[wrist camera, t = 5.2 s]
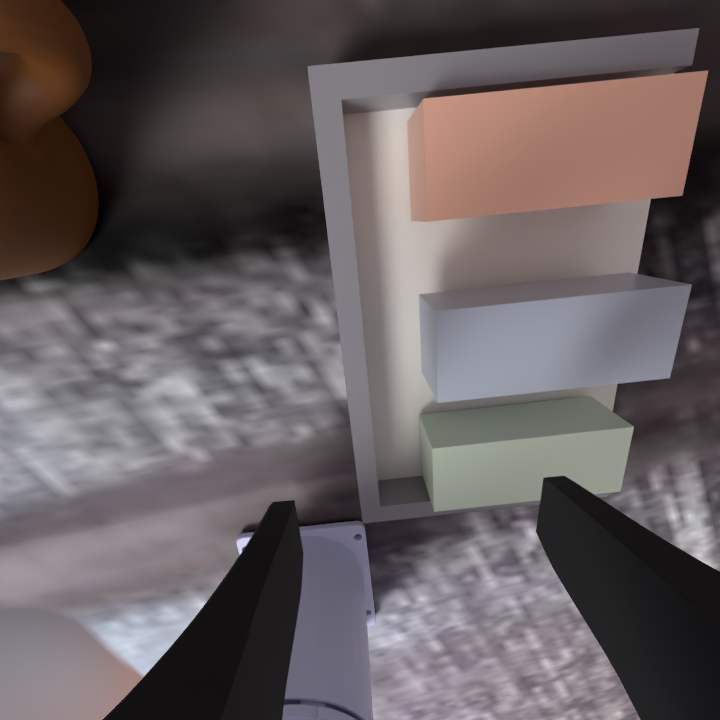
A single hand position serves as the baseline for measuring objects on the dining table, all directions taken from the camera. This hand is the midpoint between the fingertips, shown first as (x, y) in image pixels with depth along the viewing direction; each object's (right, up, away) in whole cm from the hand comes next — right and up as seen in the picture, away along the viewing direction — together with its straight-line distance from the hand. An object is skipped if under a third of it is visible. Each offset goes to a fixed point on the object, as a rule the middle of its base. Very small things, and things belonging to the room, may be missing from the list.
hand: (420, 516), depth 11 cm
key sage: (+6, 0, +9) cm, 11 cm away
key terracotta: (+5, +13, +4) cm, 14 cm away
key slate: (+5, +6, +6) cm, 10 cm away
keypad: (+4, +7, +8) cm, 11 cm away
